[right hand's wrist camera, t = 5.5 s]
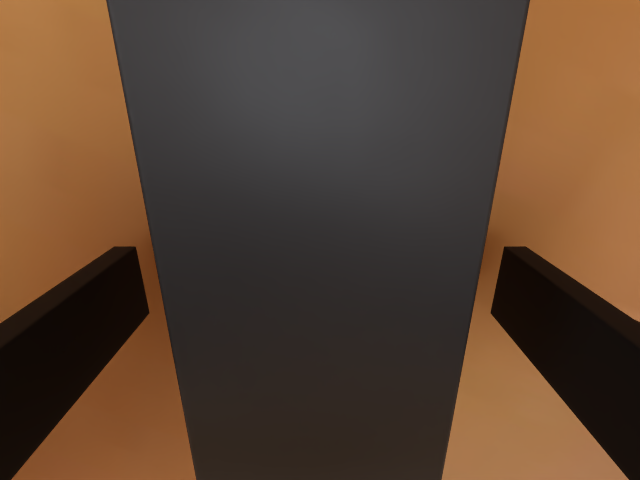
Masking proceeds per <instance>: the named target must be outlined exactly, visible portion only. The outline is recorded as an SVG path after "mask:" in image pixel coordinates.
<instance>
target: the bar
mask: <svg viewBox="0 0 640 480" xmlns="http://www.w3.org/2000/svg"><path fill="white" fill-rule="evenodd" d="M106 1H107V6H108V12H109V17H110V22H111V28H112V33H113V38H114V44H115V49H116V54H117V60H118V65H119V70H120V76H121V81H122V86H123V91H124V97H125V102H126V107H127V113H128V118H129V123H130V129H131V134H132V139H133V145H134V150H135V155H136V161H137V166H138V171H139V177H140V182H141V187H142V193H143V198H144V203H145V209H146V214H147V219H148V225H149V230H150V235H151V240H152V246H153V251H154V256H155V262H156V267H157V272H158V278H159V283H160V288H161V294H162V299H163V304H164V310H165V315H166V320H167V326H168V331H169V336H170V342H171V347H172V352H173V358H174V363H175V368H176V374H177V379H178V384H179V390H180V395H181V400H182V405H183V411H184V416H185V421H186V427H187V432H188V437H189V443H190V448H191V453H192V459H193V464H194V469H195V475H196V480H441V479H442V474H443V468H444V463H445V458H446V452H447V447H448V441H449V436H450V431H451V425H452V420H453V414H454V409H455V403H456V398H457V393H458V387H459V382H460V376H461V371H462V366H463V360H464V355H465V349H466V344H467V338H468V333H469V328H470V322H471V317H472V311H473V306H474V301H475V295H476V290H477V284H478V279H479V273H480V268H481V263H482V257H483V252H484V246H485V241H486V236H487V230H488V225H489V219H490V214H491V208H492V203H493V198H494V192H495V187H496V181H497V176H498V170H499V165H500V160H501V154H502V149H503V143H504V138H505V133H506V127H507V122H508V116H509V111H510V105H511V100H512V95H513V89H514V84H515V78H516V73H517V68H518V62H519V57H520V51H521V46H522V40H523V35H524V30H525V24H526V19H527V13H528V8H529V3H530V0H106Z"/></svg>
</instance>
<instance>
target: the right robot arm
mask: <svg viewBox="0 0 640 480" xmlns="http://www.w3.org/2000/svg"><path fill="white" fill-rule="evenodd" d="M148 314H149V308H148V303H147V299H146V294H145V289H144V284H143V279H142V274H141V270H140V265H139V260H138V255H137V250H136V247H113V248H111V249H110V250H109V251H107V252H106V253H104V254H103V255H101V256H100V257H98V258H97V259H95V260H94V261H92V262H91V263H89V264H88V265H86V266H85V267H83V268H82V269H80V270H79V271H77V272H76V273H74V274H73V275H71V276H70V277H68V278H67V279H66V280H64V281H63V282H61V283H60V284H58V285H57V286H55V287H54V288H52V289H51V290H49V291H48V292H46V293H45V294H43V295H42V296H40V297H39V298H37V299H36V300H34V301H33V302H31V303H30V304H28V305H27V306H26V307H24V308H23V309H21V310H20V311H18V312H17V313H15V314H14V315H12V316H11V317H9V318H8V319H6V320H5V321H3V322H2V323H0V480H11V479H12V478H13V477H14V475H15V474H16V473H17V472H18V471H19V469H20V468H21V467H22V466H23V465H24V463H25V462H26V461H27V460H28V459H29V457H30V456H31V455H32V454H33V453H34V451H35V450H36V449H37V448H38V447H39V445H40V444H41V443H42V442H43V441H44V439H45V438H46V437H47V436H48V435H49V433H50V432H51V431H52V430H53V429H54V427H55V426H56V425H57V424H58V423H59V421H60V420H61V419H62V418H63V416H64V415H65V414H66V413H67V412H68V410H69V409H70V408H71V407H72V406H73V404H74V403H75V402H76V401H77V400H78V398H79V397H80V396H81V395H82V394H83V392H84V391H85V390H86V389H87V388H88V386H89V385H90V384H91V383H92V382H93V380H94V379H95V378H96V377H97V376H98V374H99V373H100V372H101V371H102V370H103V368H104V367H105V366H106V365H107V364H108V362H109V361H110V360H111V359H112V358H113V356H114V355H115V354H116V353H117V352H118V350H119V349H120V348H121V347H122V345H123V344H124V343H125V342H126V341H127V339H128V338H129V337H130V336H131V335H132V333H133V332H134V331H135V330H136V329H137V327H138V326H139V325H140V324H141V323H142V321H143V320H144V319H145V318H146V317H147V315H148ZM491 314H492V315H493V317H494V318H495V319H496V320H497V321H498V323H499V324H500V325H501V326H502V327H503V329H504V330H505V331H506V332H507V333H508V335H509V336H510V337H511V338H512V339H513V341H514V342H515V343H516V344H517V345H518V347H519V348H520V349H521V350H522V352H523V353H524V354H525V355H526V356H527V358H528V359H529V360H530V361H531V362H532V364H533V365H534V366H535V367H536V368H537V370H538V371H539V372H540V373H541V374H542V376H543V377H544V378H545V379H546V380H547V382H548V383H549V384H550V385H551V386H552V388H553V389H554V390H555V391H556V392H557V394H558V395H559V396H560V397H561V398H562V400H563V401H564V402H565V403H566V404H567V406H568V407H569V408H570V409H571V410H572V412H573V413H574V414H575V415H576V416H577V418H578V419H579V420H580V421H581V423H582V424H583V425H584V426H585V427H586V429H587V430H588V431H589V432H590V433H591V435H592V436H593V437H594V438H595V439H596V441H597V442H598V443H599V444H600V445H601V447H602V448H603V449H604V450H605V451H606V453H607V454H608V455H609V456H610V457H611V459H612V460H613V461H614V462H615V463H616V465H617V466H618V467H619V468H620V469H621V471H622V472H623V473H624V474H625V475H626V477H627V478H628V479H629V480H640V322H638V321H636V320H634V319H632V318H631V317H629V316H628V315H626V314H625V313H623V312H622V311H620V310H619V309H617V308H616V307H614V306H613V305H612V304H610V303H609V302H607V301H606V300H604V299H603V298H601V297H600V296H598V295H597V294H595V293H594V292H592V291H591V290H589V289H588V288H586V287H585V286H583V285H582V284H580V283H579V282H577V281H576V280H574V279H573V278H572V277H570V276H569V275H567V274H566V273H564V272H563V271H561V270H560V269H558V268H557V267H555V266H554V265H552V264H551V263H549V262H548V261H546V260H545V259H543V258H542V257H540V256H539V255H537V254H536V253H534V252H533V251H531V250H530V249H529V248H527V247H504V250H503V255H502V260H501V265H500V270H499V274H498V279H497V284H496V289H495V294H494V299H493V303H492V308H491Z"/></svg>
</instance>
